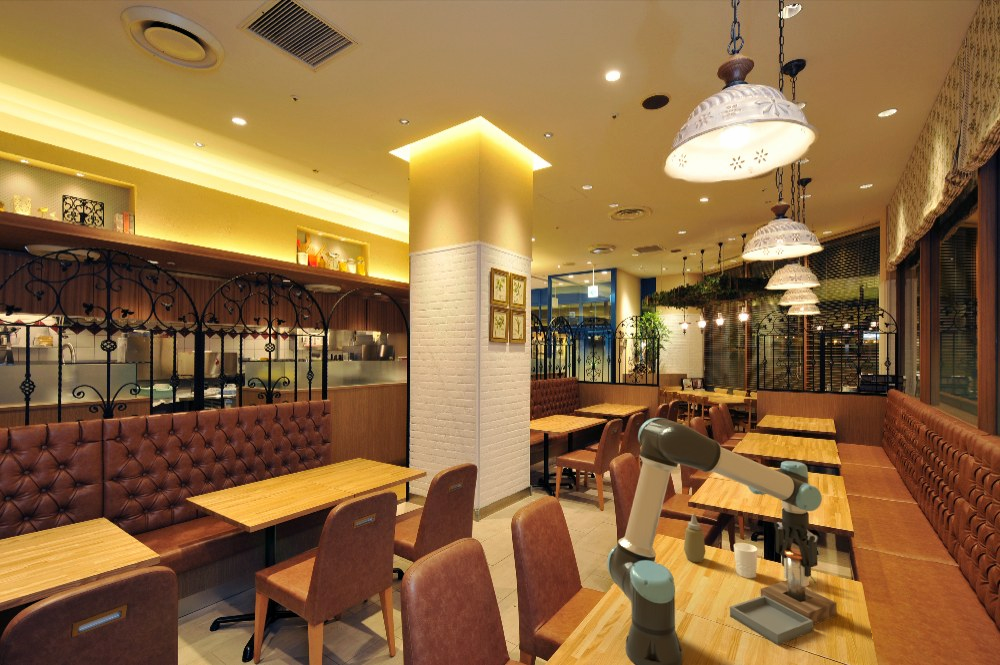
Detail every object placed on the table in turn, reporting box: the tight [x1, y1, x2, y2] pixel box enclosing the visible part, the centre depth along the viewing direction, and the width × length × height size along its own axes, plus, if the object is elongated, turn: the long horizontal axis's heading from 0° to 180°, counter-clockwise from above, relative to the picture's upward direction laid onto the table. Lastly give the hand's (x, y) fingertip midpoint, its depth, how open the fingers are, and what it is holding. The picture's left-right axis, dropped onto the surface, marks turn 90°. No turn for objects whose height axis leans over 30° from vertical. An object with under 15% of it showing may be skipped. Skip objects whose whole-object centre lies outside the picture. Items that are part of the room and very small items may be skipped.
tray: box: [729, 595, 814, 646], centre depth 146 cm, size 16×16×3 cm
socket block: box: [760, 579, 838, 626], centre depth 154 cm, size 14×16×4 cm
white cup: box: [733, 542, 758, 579], centre depth 177 cm, size 8×8×10 cm
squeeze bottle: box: [683, 513, 706, 563], centre depth 189 cm, size 8×8×18 cm
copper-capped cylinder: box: [785, 547, 807, 602], centre depth 154 cm, size 6×6×15 cm
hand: (796, 581), depth 154 cm, fingers closed on copper-capped cylinder, 5 cm apart
